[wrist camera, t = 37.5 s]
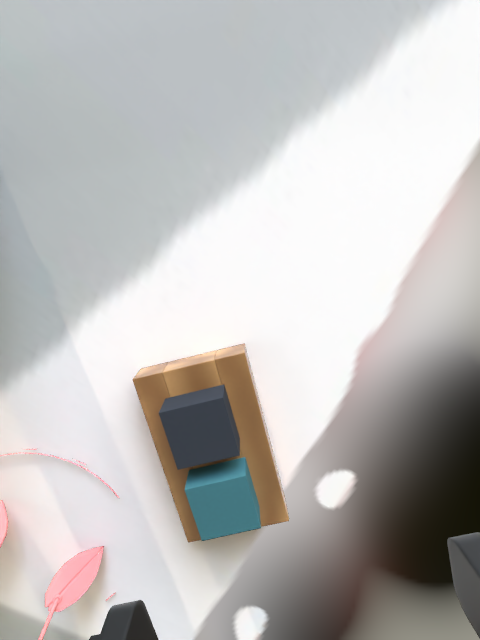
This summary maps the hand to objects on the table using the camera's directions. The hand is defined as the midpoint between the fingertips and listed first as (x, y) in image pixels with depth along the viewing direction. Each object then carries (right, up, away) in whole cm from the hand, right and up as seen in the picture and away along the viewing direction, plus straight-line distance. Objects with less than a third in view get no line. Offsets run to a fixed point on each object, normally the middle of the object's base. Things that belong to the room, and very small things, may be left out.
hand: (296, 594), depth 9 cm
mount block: (-4, -6, +30) cm, 31 cm away
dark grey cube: (-5, -2, +29) cm, 30 cm away
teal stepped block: (-3, -10, +31) cm, 33 cm away
